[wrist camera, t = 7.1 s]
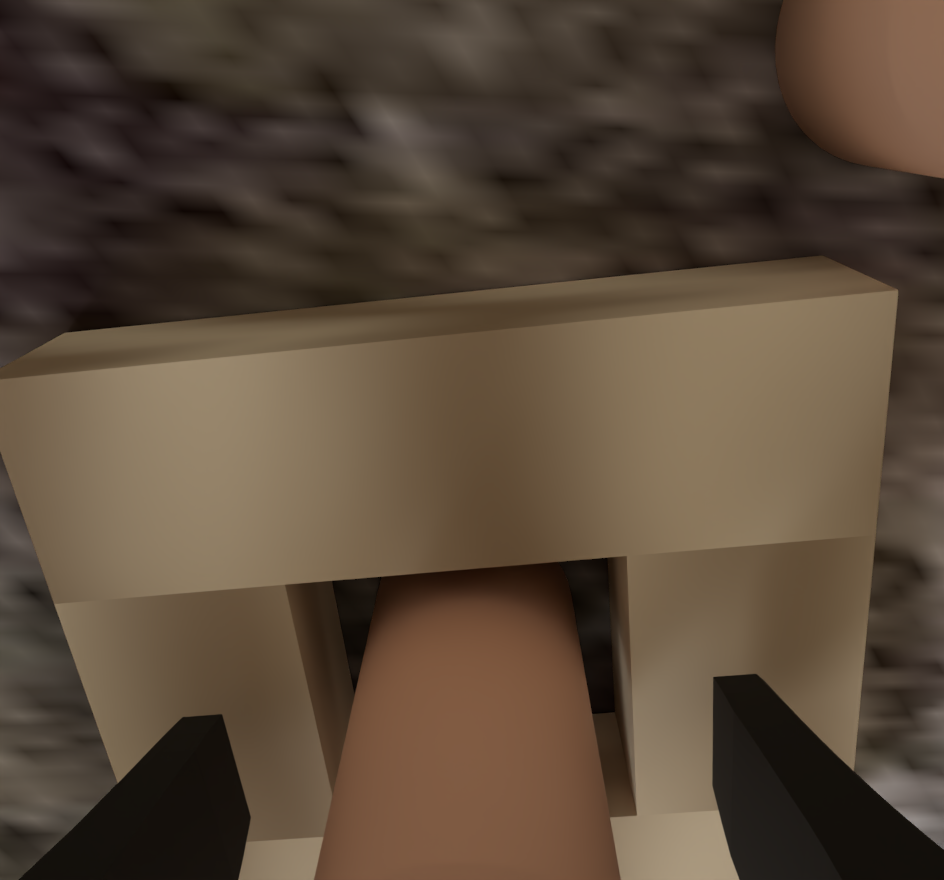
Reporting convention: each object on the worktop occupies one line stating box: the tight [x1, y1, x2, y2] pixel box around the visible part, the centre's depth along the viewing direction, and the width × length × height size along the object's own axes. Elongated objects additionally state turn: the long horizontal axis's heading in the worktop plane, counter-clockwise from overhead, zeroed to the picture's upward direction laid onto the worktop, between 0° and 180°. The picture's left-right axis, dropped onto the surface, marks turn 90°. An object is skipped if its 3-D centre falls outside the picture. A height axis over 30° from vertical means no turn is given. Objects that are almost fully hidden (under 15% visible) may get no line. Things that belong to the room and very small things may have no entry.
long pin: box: [314, 562, 621, 880], centre depth 12 cm, size 4×4×7 cm
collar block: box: [0, 255, 898, 880], centre depth 14 cm, size 12×12×2 cm
